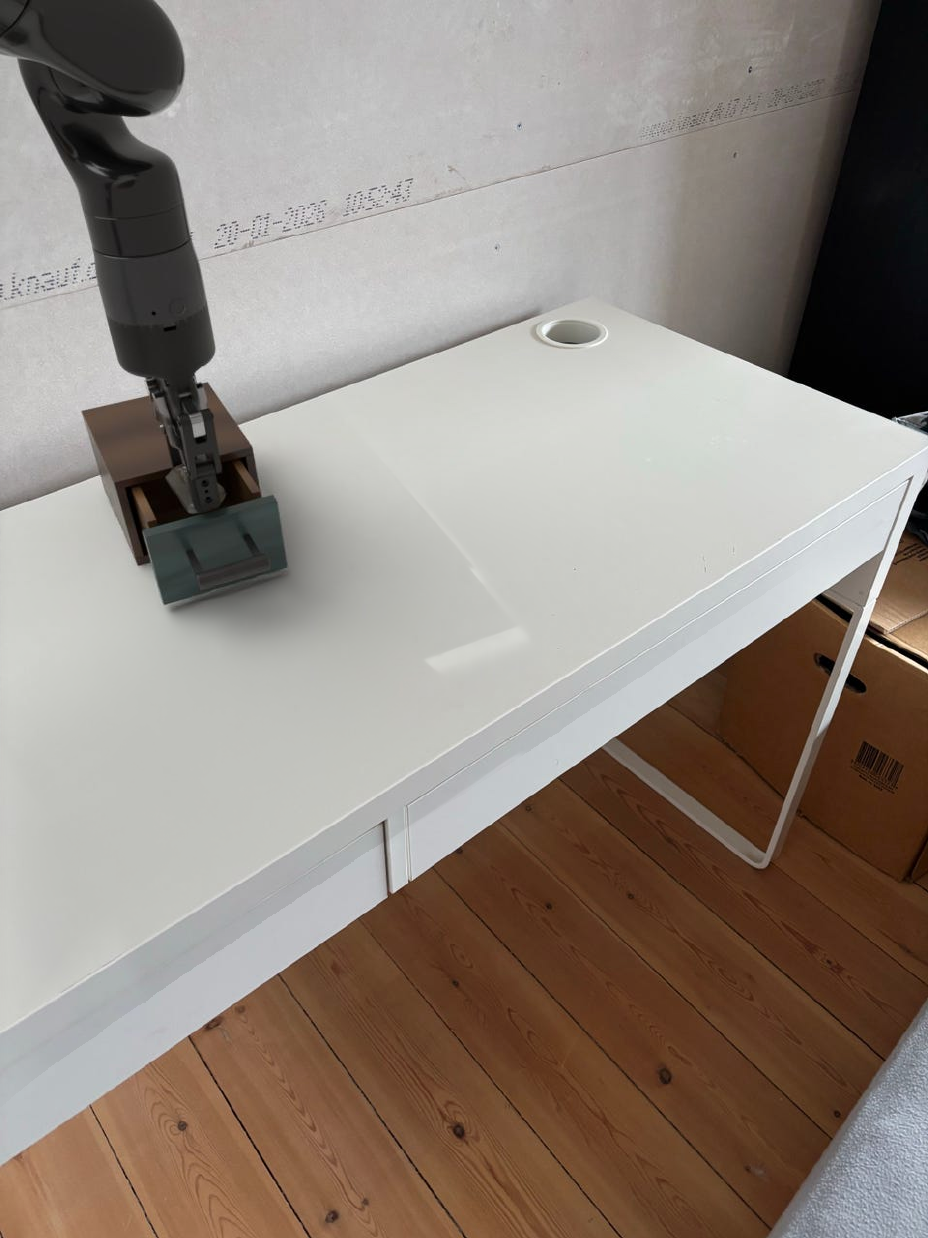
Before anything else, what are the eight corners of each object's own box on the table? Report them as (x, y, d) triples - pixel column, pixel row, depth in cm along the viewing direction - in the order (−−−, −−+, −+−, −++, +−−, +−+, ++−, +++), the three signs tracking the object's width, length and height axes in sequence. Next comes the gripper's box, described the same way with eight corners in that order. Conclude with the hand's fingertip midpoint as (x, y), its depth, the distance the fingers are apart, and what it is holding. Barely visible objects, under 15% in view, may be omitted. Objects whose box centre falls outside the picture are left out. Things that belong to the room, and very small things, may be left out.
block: (199, 475, 88) (195, 457, 86) (231, 503, 84) (228, 485, 83) (161, 488, 86) (157, 471, 85) (193, 518, 82) (189, 500, 81)
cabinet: (267, 528, 95) (252, 446, 89) (137, 565, 91) (113, 482, 85) (223, 459, 105) (207, 381, 99) (104, 489, 101) (81, 410, 95)
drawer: (307, 598, 86) (296, 529, 81) (178, 638, 82) (160, 569, 77) (242, 495, 98) (230, 431, 93) (128, 526, 94) (110, 461, 90)
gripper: (85, 278, 77) (134, 461, 88) (126, 347, 68) (176, 544, 79) (179, 261, 80) (215, 441, 91) (232, 325, 70) (265, 519, 81)
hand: (197, 488), depth 85 cm, fingers closed on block, 6 cm apart
